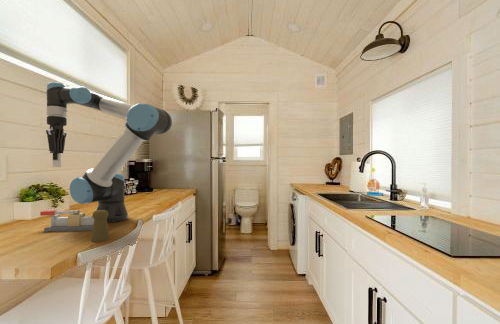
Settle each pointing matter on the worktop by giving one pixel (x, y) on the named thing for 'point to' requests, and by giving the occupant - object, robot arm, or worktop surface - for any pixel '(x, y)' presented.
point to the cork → (100, 226)
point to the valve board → (69, 228)
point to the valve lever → (58, 212)
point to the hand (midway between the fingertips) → (56, 167)
